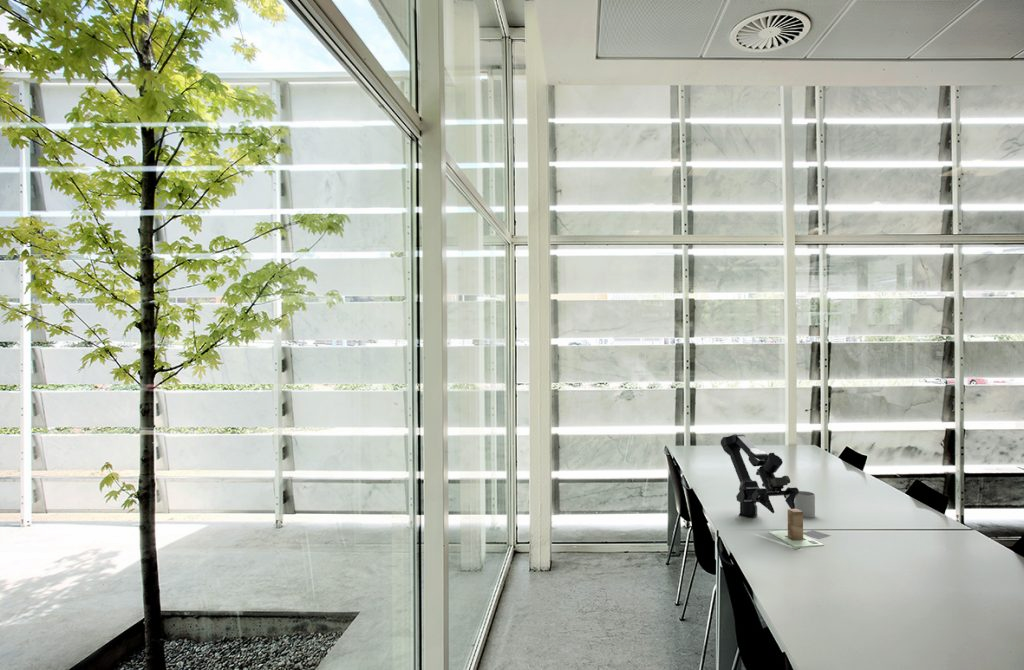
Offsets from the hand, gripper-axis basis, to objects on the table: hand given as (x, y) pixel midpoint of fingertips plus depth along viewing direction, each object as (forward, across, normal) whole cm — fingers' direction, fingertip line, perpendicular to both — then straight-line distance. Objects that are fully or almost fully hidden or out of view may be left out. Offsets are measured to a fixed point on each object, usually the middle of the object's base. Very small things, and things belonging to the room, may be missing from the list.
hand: (784, 512), depth 249 cm
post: (+12, 0, +1) cm, 12 cm away
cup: (-9, +25, +23) cm, 35 cm away
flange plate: (+12, 0, +1) cm, 12 cm away
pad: (+9, +12, +4) cm, 15 cm away
